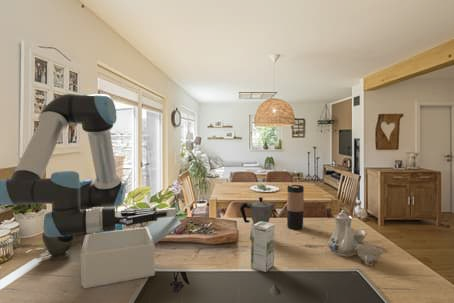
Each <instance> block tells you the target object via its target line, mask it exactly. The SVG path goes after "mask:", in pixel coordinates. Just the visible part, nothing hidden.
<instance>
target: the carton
mask: <svg viewBox="0 0 454 303" xmlns="http://www.w3.org/2000/svg"><path fill="white" fill-rule="evenodd" d="M155 244H156V243H154V240H153V238H152V236H151V234H150V231H149V229H148V226H145V227H137V228H129V229H127V228H126V229H122V230H119V231H110V232H102V233H95V232H94V234H91V233H86V234H84V239H83V243H82V247H81V250H80V279H81V280H80V283H81V287H83V289H89V288H94V287H99V286H106V285H110V284H116V283H117V284H118V283H120V282H128V281H133V280H137V279H142V278H149V277H154V276H156V264H155V262H156V259H155V246H156V245H155ZM148 276H149V277H148Z"/></svg>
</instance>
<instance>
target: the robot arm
mask: <svg viewBox="0 0 454 303" xmlns="http://www.w3.org/2000/svg"><path fill="white" fill-rule="evenodd" d="M116 122H117V108H116V105H115V103H114V100H113V99H112V97H110V96H109V95H108V94H101V93H66V94H63V95H60V96H57V97H56V98H54V99H53V100H51V101H50V102H49V103H48V104H46V105H45V106H44V107H43V109H42V110H41V111H40V113H39V115H38V125H37V127H36V129H35V130H34V132H33V134H32V136H31V137H30V138H31V139H30V140H29V142H28V144H27V147H25V148H26V149H25V150H24V152H23V154H22V156H21V158H20V160H19V161H18V164H17V165H16V168H15V170H14V172H13V173H12V175H11V177H10V178H6V179H1V180H0V205H5V206H7V205H8V206H17V205H44V204H45V205H51V211H48V212H46V213H45V214H44V217H43V233H45V235H46V236H47V237H59V236H61V237H64V236H69V235H74V236H77V235H78V236H79V235H83V234H84V235H86V234H94V233H95V232H100V231H101V230H102V229H103V231H112V230H115V224H122V226H123V225H125V227H130V226H133V225H139V224H144V223H151V222H155V221H157V220H158V219H159V218H165V217H174V216H176V217H177V208H176V207H169V208H157V207H155V206H153V208H152V207H150V208H124V209H121V210H120V211H117V212H116V207H120V206H123V205H124V201H125V197H126V192H127V191H126V190H127V183H126V181H124V180H122V178H121V177H120V175H118V174H117V169H116V160H115V154H114V148H113V147H114V146H113V144H112V143H113V142H112V135H111V130H112V129H113V127H114V125H115V124H116ZM73 124H76V125H77V124H78V125H81V128H82V131H84V133H85V132H86V133H87V135H88V136H87V138H88V142H89V147H90V152H91V153H90V154H91V158H92V162H93V167H94V173H95V177H96V178H95V179H94V181H93V179H91V178H84V179H80V174H79V173H78V172H77V171H74V170H72V171H71V170H68V171H67V170H65V171H56V172H52V174H51V175H50V178H49V177H48V178H43V177H44V174H45V172H46V170H47V167H48V164H49V163H50V161H51V158H52V155H53V153H54V151H55V148H56V146H57V144H58V143H59V142H58V141H59V140H60V136H61V134H62V133H63V131H65V130H66V129H67V128H68V126H69V125H73Z"/></svg>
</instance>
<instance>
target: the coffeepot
mask: <svg viewBox="0 0 454 303" xmlns="http://www.w3.org/2000/svg"><path fill="white" fill-rule="evenodd" d="M258 200H259V201H255V202H249V203H247V202H244V203H242V204H241V205H240V207H239V209H240V210H239V211H240V212H241V216H242V219H243V222H244V223H246V224H247V223H250V220H249V219H247V215H246V211H245V208H246V209H250V215H251V220H252V225H254V224H256V223H258V222H268V223H270V218H271V214H272V212H273V210H274V209H275V208H276V207H277V205H276V204H275V203H270V202H265V201H263V200H264V197H262V196H261V197H258ZM252 225H251V226H252ZM249 240H250V241H251V240H252V228H251V230H250V236H249Z"/></svg>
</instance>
